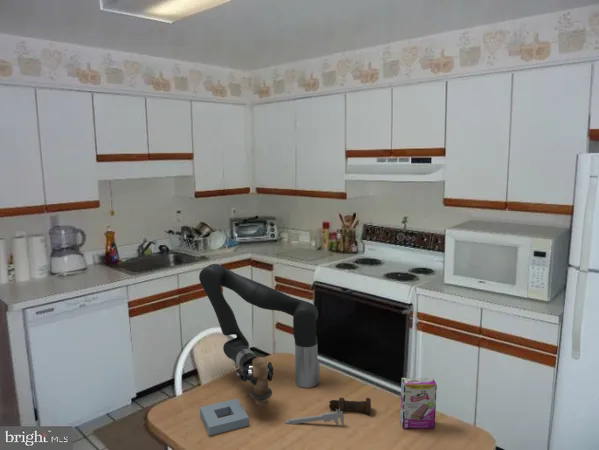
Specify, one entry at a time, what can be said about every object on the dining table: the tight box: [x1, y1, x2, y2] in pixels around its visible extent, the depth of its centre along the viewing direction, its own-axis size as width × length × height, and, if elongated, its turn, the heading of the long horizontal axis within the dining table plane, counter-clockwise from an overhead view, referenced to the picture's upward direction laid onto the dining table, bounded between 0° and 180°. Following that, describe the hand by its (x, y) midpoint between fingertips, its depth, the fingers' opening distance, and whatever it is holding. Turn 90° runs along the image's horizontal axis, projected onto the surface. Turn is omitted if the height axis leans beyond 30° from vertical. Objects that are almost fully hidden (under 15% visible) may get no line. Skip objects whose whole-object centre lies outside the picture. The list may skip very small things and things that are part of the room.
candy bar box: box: [399, 377, 438, 430], centre depth 154 cm, size 11×5×16 cm, turn 89°
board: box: [199, 398, 250, 436], centre depth 160 cm, size 14×14×3 cm
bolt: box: [328, 397, 372, 416], centre depth 165 cm, size 6×5×15 cm
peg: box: [250, 356, 273, 407], centre depth 162 cm, size 8×8×16 cm
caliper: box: [284, 409, 345, 427], centre depth 156 cm, size 20×1×6 cm, turn 85°
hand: (263, 380), depth 159 cm, fingers closed on peg, 5 cm apart
